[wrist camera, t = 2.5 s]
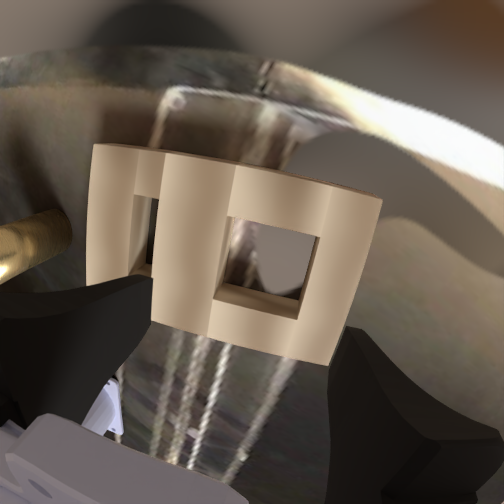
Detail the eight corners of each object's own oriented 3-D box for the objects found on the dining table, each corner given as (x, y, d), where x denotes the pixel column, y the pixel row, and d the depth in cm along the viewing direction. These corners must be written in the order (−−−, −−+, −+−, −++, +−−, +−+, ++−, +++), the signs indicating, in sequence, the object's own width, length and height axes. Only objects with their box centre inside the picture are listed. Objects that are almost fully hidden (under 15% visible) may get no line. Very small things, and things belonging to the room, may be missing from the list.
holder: (106, 283, 22) (87, 297, 20) (116, 143, 19) (93, 143, 16) (326, 343, 20) (327, 365, 18) (372, 193, 17) (382, 200, 15)
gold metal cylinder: (42, 246, 22) (-31, 281, 15) (42, 205, 21) (-37, 231, 13) (72, 256, 22) (-3, 298, 14) (72, 212, 21) (-10, 243, 13)
